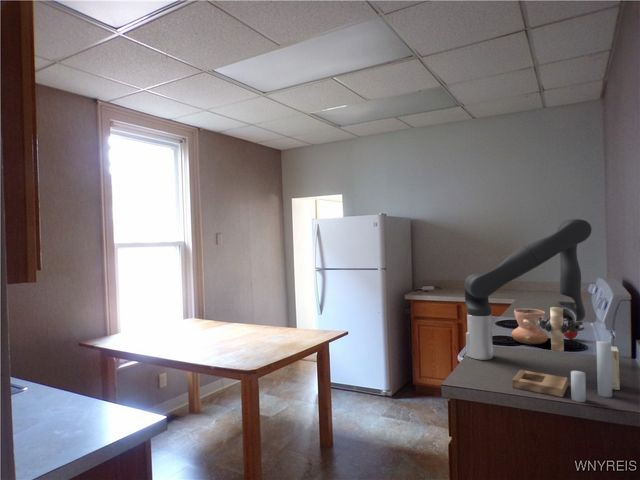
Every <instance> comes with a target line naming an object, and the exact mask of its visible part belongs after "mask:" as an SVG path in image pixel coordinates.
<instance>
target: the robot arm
mask: <svg viewBox="0 0 640 480" xmlns="http://www.w3.org/2000/svg"><path fill="white" fill-rule="evenodd" d="M591 234H592V225H591V224H590V222H588V221H587V220H585V219H581V218H574V219H566V220H564V221H562V222H560V223H559V225H558V227H557V231H555V232H554V233H552V234H550V235H549V236H546V237H543V238H541V239H538V240H535V241H533V242H531V243H528V244H526V245H524V246H522V247H520V248H518V249H517V250H515V251H513V252H512V253H510V254H509V255H508V256H506V258H505V259H504V260H503V261H502V262H501V263H499V265H498V266H496V267H495V268H493V269H491V270H488V271H487V272H484V273H483V274H481V273H471V274H469V275H468V276H467V278H465V281H464V302H465V308H466V320H467V321H466V323H467V332H465V349H466V357H469V358H471V359H476V360H481V361H483V360H485V361H487V360H491V359H492V358H494V355H493V354H494V350H493V316H492V314H493V313H492V306H491V304H490V300H489V296H491V295H493V293H495V292H497V291H498V290H499V289H501V288H502V287H504V286H505V285H506V284H508V283H509V282H512V281H513V280H515V279H517V278H519V277H521V276H523V275H525V274H526V273H528V272H530V271H533V270H534V269H536V268H538V267H539V266H541V265H542V264H544V263H546V262H547V261H549V260H550V259H551V260H552V258H553V257H555V256H557V255H558V254H559V257H560V258H559V265H560V275H559V277H560V278H559V294H561V295H562V296H565V297H569V298H571V299H572V300H573V301H574V302H570V301H562V300H561V301H559V300H558V301H557V302H555V304H554V306H553V307H559V308H563V325H562V333H565V332H569V331H570V330H571V332H576V331H578V332H579V331H582V330H584V325H583V324H584V322H583V320H585V317H586V310H585V306H584V303H583V302H584V301H583V298H582V292H581V291H582V274H581V273H582V271H581V267H580V264H579V261H578V255H577V251H578V244H581V243H583V242H585V241H586V240H588V239H589V237H590V236H591ZM538 325H539V326H540V329H542V330H545V331H546V332H548V333H551V319H550V317H549V318H547V319H546V320H545V318H544V319H542V318H538Z"/></svg>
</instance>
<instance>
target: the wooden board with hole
mask: <svg viewBox="0 0 640 480" xmlns="http://www.w3.org/2000/svg"><path fill="white" fill-rule="evenodd" d="M568 382H569V381H568V377H565V376H558V375H553V374H547V373H542V372H541V373H540V372H536V371H535V372H534V371H529V370H524V369H520V370H518V372H517V373H516V374H515V376H514V377H513V378H512V388H514V389H518V390H519V389H520V390H525V391H529V392H533V393H534V392H535V393H540V394H545V395H549V396H550V395H551V396H556V397H560V398H563V397H564V395H565V393H566V390H567V388H568V386H569V385H568V384H569V383H568Z"/></svg>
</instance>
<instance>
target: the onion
mask: <svg viewBox="0 0 640 480" xmlns="http://www.w3.org/2000/svg"><path fill="white" fill-rule="evenodd" d="M578 333H579V331H576V332H571V330H570V331H569V332H565V333H563V337H565V338H567V339H568V340H570V341H572V340H573V339H575V338H576V337H577V336H578Z"/></svg>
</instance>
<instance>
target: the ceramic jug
mask: <svg viewBox="0 0 640 480" xmlns="http://www.w3.org/2000/svg"><path fill="white" fill-rule="evenodd" d="M513 314H514V317H515V320H516V322H517V324H518V326H517V327H516V328H515V329H513V330H512V331H511V337H512V338H513V339H514V340H515V341H516V342H519V343H520V344H526V345H541V344H545V343H546V342H547V341H548V339H549V335H548V333H546V331H544V329H542V328H541V327H540V326H539V325H538V318H542V319H544V320H545V317H546V312H545V311H544V310H541V309H535V308H515V309H513Z"/></svg>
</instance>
